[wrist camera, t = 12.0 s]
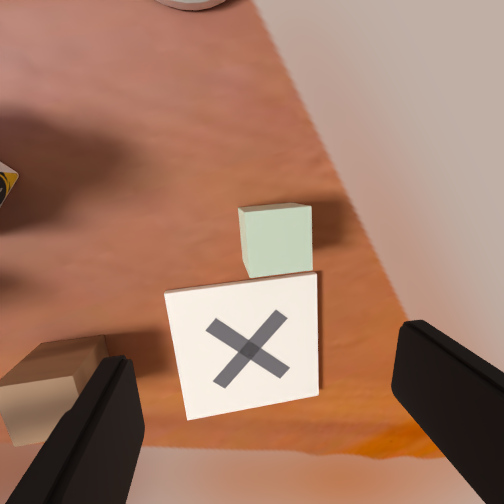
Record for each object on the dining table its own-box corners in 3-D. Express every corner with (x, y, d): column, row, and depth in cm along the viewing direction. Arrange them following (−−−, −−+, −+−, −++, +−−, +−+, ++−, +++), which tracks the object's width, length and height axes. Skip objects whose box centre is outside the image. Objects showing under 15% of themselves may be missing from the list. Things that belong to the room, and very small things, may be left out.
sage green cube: (237, 207, 25) (244, 212, 20) (291, 202, 25) (311, 206, 20) (242, 259, 26) (249, 278, 21) (293, 254, 27) (312, 270, 22)
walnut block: (41, 342, 25) (-10, 388, 20) (104, 334, 26) (72, 375, 20) (57, 391, 27) (14, 446, 21) (116, 382, 28) (90, 433, 22)
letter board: (165, 290, 26) (164, 293, 25) (313, 271, 28) (317, 274, 27) (188, 414, 30) (187, 420, 29) (316, 390, 32) (318, 395, 31)
